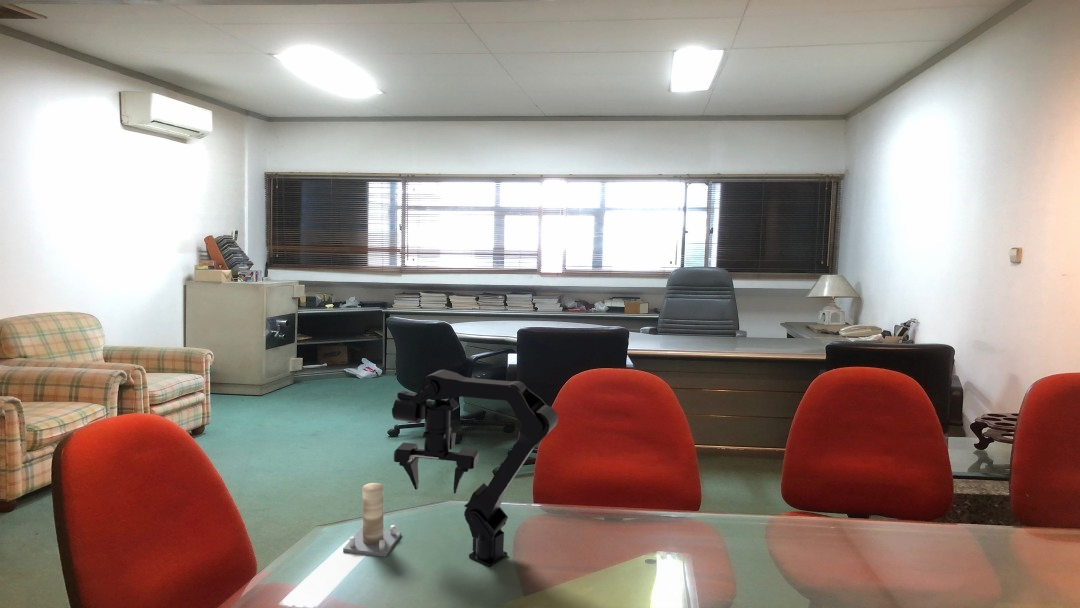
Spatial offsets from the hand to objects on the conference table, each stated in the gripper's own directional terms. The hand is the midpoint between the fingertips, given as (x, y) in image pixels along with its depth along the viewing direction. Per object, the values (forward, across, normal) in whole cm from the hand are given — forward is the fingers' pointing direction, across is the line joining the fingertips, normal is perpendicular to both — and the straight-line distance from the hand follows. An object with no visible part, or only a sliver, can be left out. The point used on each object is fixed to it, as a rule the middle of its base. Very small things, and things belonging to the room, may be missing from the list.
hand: (435, 490), depth 146 cm
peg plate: (+13, +14, +3) cm, 19 cm away
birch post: (+12, +14, +3) cm, 19 cm away
